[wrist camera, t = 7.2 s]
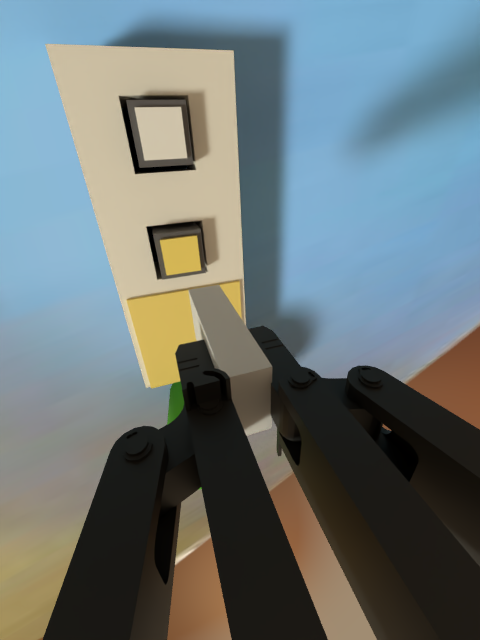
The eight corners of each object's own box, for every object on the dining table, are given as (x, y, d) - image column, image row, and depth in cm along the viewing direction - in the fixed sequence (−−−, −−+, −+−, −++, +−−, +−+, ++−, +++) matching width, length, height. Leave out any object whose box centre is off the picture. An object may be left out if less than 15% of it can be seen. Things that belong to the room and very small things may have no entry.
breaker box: (64, 67, 20) (43, 41, 16) (215, 70, 23) (234, 48, 18) (144, 359, 33) (146, 389, 29) (234, 339, 36) (248, 364, 31)
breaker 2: (150, 220, 26) (153, 235, 21) (189, 216, 27) (201, 229, 22) (157, 258, 28) (162, 281, 23) (193, 253, 29) (206, 274, 23)
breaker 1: (128, 113, 22) (125, 99, 17) (175, 112, 23) (186, 98, 18) (139, 166, 24) (139, 167, 19) (181, 163, 25) (193, 164, 19)
